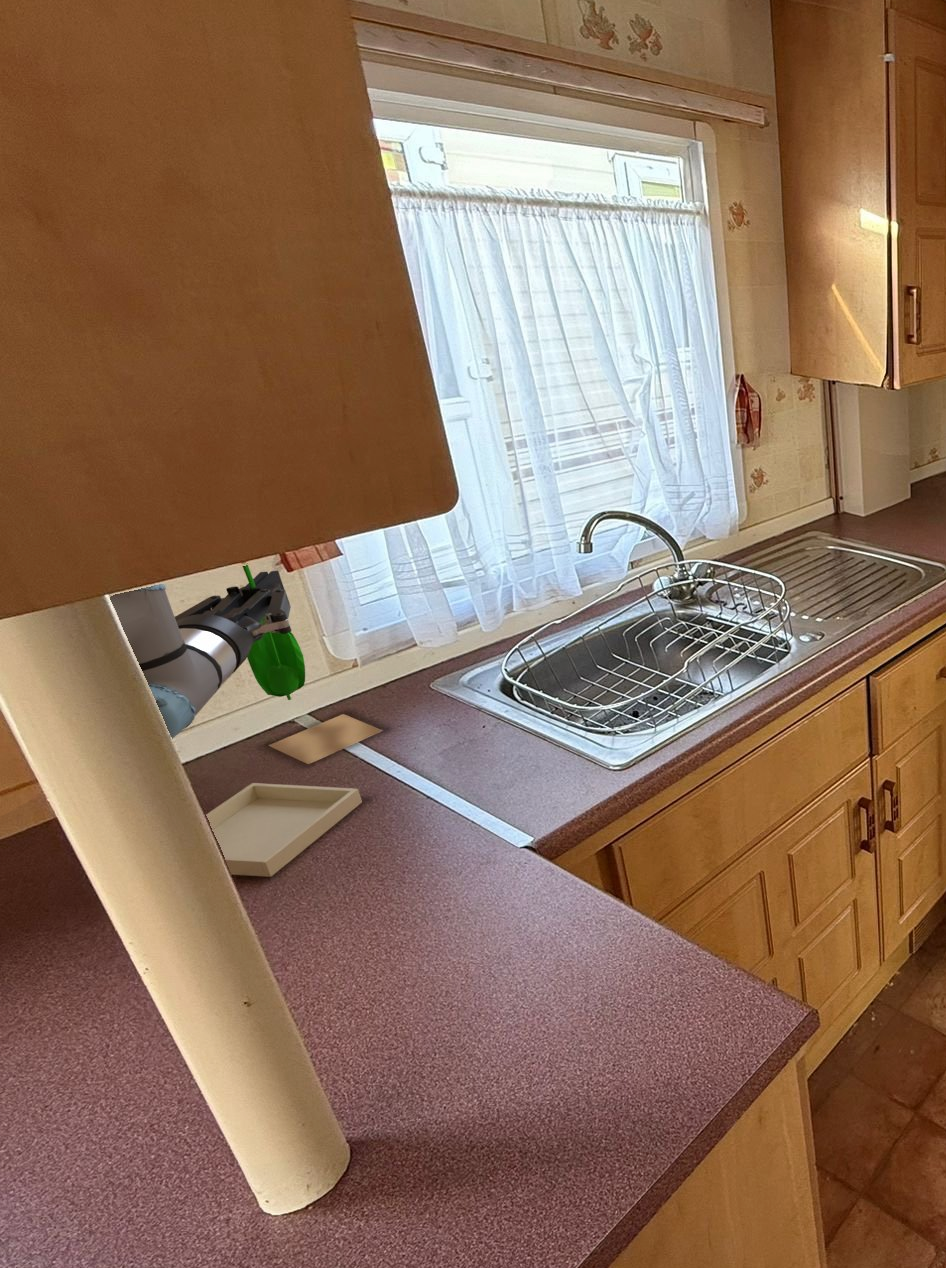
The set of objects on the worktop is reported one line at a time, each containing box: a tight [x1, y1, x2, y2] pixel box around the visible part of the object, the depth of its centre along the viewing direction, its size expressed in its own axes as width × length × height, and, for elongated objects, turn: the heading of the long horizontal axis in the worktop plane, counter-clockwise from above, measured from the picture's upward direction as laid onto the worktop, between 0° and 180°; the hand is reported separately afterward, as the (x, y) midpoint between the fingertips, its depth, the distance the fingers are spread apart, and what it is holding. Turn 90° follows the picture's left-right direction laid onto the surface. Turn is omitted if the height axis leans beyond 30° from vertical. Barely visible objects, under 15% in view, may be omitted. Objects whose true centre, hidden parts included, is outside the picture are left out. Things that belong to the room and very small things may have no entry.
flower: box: [242, 564, 306, 701], centre depth 110 cm, size 9×8×30 cm
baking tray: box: [205, 782, 363, 878], centre depth 106 cm, size 14×14×3 cm
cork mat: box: [267, 713, 384, 765], centre depth 125 cm, size 10×10×1 cm
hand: (272, 580), depth 115 cm, fingers closed on flower
